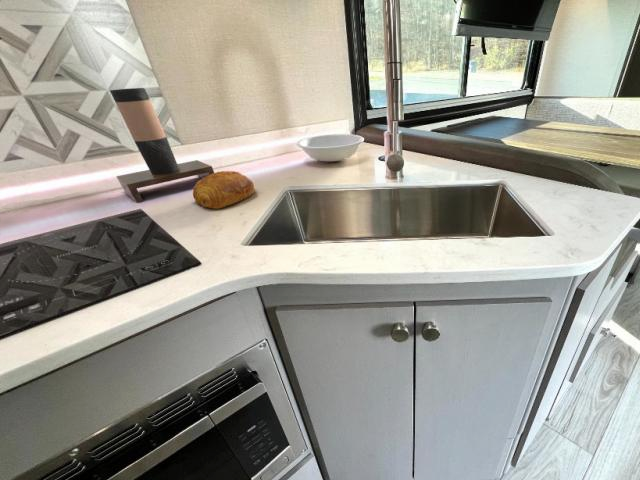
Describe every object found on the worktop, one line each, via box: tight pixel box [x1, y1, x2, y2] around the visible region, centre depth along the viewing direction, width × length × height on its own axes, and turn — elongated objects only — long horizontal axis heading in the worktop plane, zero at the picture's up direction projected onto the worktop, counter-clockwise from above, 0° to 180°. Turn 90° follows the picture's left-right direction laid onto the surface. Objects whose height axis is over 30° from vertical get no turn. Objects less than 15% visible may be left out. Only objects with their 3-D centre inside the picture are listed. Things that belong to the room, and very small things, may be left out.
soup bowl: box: [296, 133, 365, 162], centre depth 115 cm, size 24×24×7 cm
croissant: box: [192, 170, 255, 210], centre depth 84 cm, size 14×16×8 cm
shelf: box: [116, 159, 215, 204], centre depth 94 cm, size 22×12×5 cm, turn 137°
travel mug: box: [109, 87, 179, 174], centre depth 86 cm, size 8×8×20 cm
